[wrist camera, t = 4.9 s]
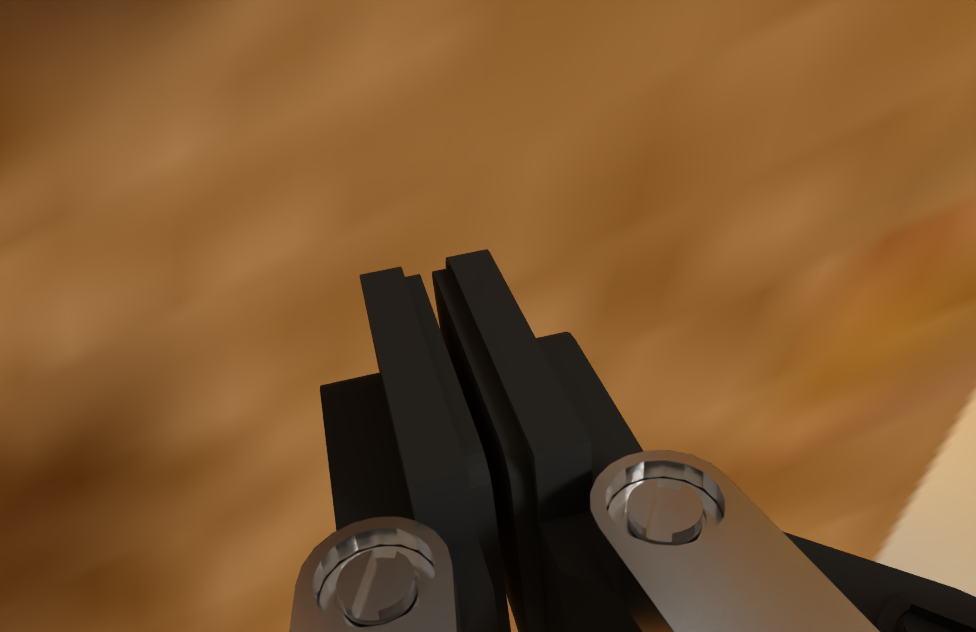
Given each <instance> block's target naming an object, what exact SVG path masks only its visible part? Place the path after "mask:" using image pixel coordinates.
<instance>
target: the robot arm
mask: <svg viewBox="0 0 976 632" xmlns="http://www.w3.org/2000/svg"><path fill="white" fill-rule="evenodd" d="M432 278H433V286H434V292H435V299H436V305H437V312H438V318H439V325H440V328H439V325H438V323H437V320H436V317H435V314H434V312H433V309H432V306H431V303H430V301H429V298H428V295H427V292H426V289H425V287H424V284H423V281H422V278H421V276H420V274H418V275H413V276H408V277H405V276H404V273H403V270H402V268H401V267H397V268H392V269H387V270H382V271H377V272H372V273H367V274H362V275H360V280H361V285H362V290H363V295H364V300H365V305H366V310H367V314H368V319H369V324H370V329H371V334H372V338H373V343H374V348H375V353H376V358H377V363H378V367H379V372H380V373H376V374H371V375H366V376H362V377H357V378H353V379H348V380H344V381H339V382H335V383H330V384H325V385H321V386H320V394H321V403H322V411H323V420H324V428H325V437H326V445H327V454H328V462H329V471H330V479H331V488H332V496H333V505H334V513H335V522H336V530H337V531H336V532H334V533H332V534H331V535H330V536H328V537H327V538H326V539H325V540H323V541H322V542H321V543H320V544H319V545H317V546H316V547H315V548H314V549H313V551H312V552H311V554H310V555H309V556H308V558H307V559H306V561H305V562H304V563H303V565H302V567H301V570H300V573H299V576H298V579H297V582H296V585H295V593H294V600H293V608H292V615H291V623H290V630H289V632H511V628H510V620H509V612H508V605H507V598H508V601H509V604H510V607H511V610H512V613H513V616H514V619H515V623H516V626H517V629H518V632H976V597H974V596H972V595H970V594H968V593H965V592H963V591H961V590H958V589H956V588H953V587H950V586H947V585H944V584H941V583H938V582H935V581H932V580H929V579H926V578H922V577H920V576H916V575H913V574H910V573H907V572H904V571H901V570H898V569H895V568H892V567H888V566H885V565H883V564H880V563H877V562H874V561H871V560H868V559H865V558H862V557H858V556H855V555H852V554H849V553H846V552H843V551H840V550H837V549H834V548H831V547H828V546H825V545H822V544H819V543H816V542H813V541H810V540H807V539H804V538H801V537H797V536H794V535H791V534H788V533H785V532H782V531H781V530H780V529H779V528H778V527H777V526H776V525H775V524H774V523H773V522H772V521H771V520H770V519H769V518H768V517H767V516H766V514H765V513H764V512H763V511H762V510H761V509H760V508H759V507H758V506H757V505H756V504H755V503H754V502H753V501H752V500H751V499H750V498H749V497H748V496H747V495H746V494H745V493H744V492H743V491H742V490H741V489H740V488H739V487H738V486H737V485H736V484H735V483H734V482H733V481H732V480H731V479H730V478H729V477H728V476H727V475H726V474H725V473H723V472H722V471H721V470H720V469H718V468H717V467H716V466H714V465H713V464H712V463H710V462H707V461H705V460H703V459H700V458H698V457H696V456H694V455H691V454H686V453H681V452H676V451H670V450H657V451H643V450H642V448H641V446H640V445H639V443H638V442H637V440H636V438H635V437H634V435H633V433H632V432H631V430H630V428H629V427H628V425H627V424H626V422H625V420H624V419H623V417H622V415H621V414H620V412H619V410H618V409H617V407H616V405H615V404H614V402H613V401H612V399H611V397H610V396H609V394H608V392H607V391H606V389H605V387H604V386H603V384H602V383H601V381H600V379H599V378H598V376H597V374H596V373H595V371H594V369H593V368H592V366H591V364H590V363H589V361H588V360H587V358H586V356H585V355H584V353H583V351H582V350H581V348H580V346H579V345H578V343H577V341H576V340H575V338H574V337H573V336H572V335H571V333H569V332H562V333H558V334H553V335H549V336H544V337H540V338H535V336H534V334H533V332H532V330H531V328H530V326H529V325H528V323H527V321H526V319H525V317H524V315H523V313H522V311H521V310H520V308H519V306H518V304H517V302H516V300H515V298H514V297H513V295H512V293H511V291H510V289H509V287H508V285H507V284H506V282H505V280H504V278H503V276H502V274H501V272H500V270H499V269H498V267H497V265H496V263H495V261H494V259H493V257H492V256H491V254H490V252H489V251H488V249H486V250H481V251H476V252H471V253H466V254H461V255H456V256H451V257H446V269H442V270H437V271H432ZM506 595H507V597H506Z"/></svg>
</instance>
